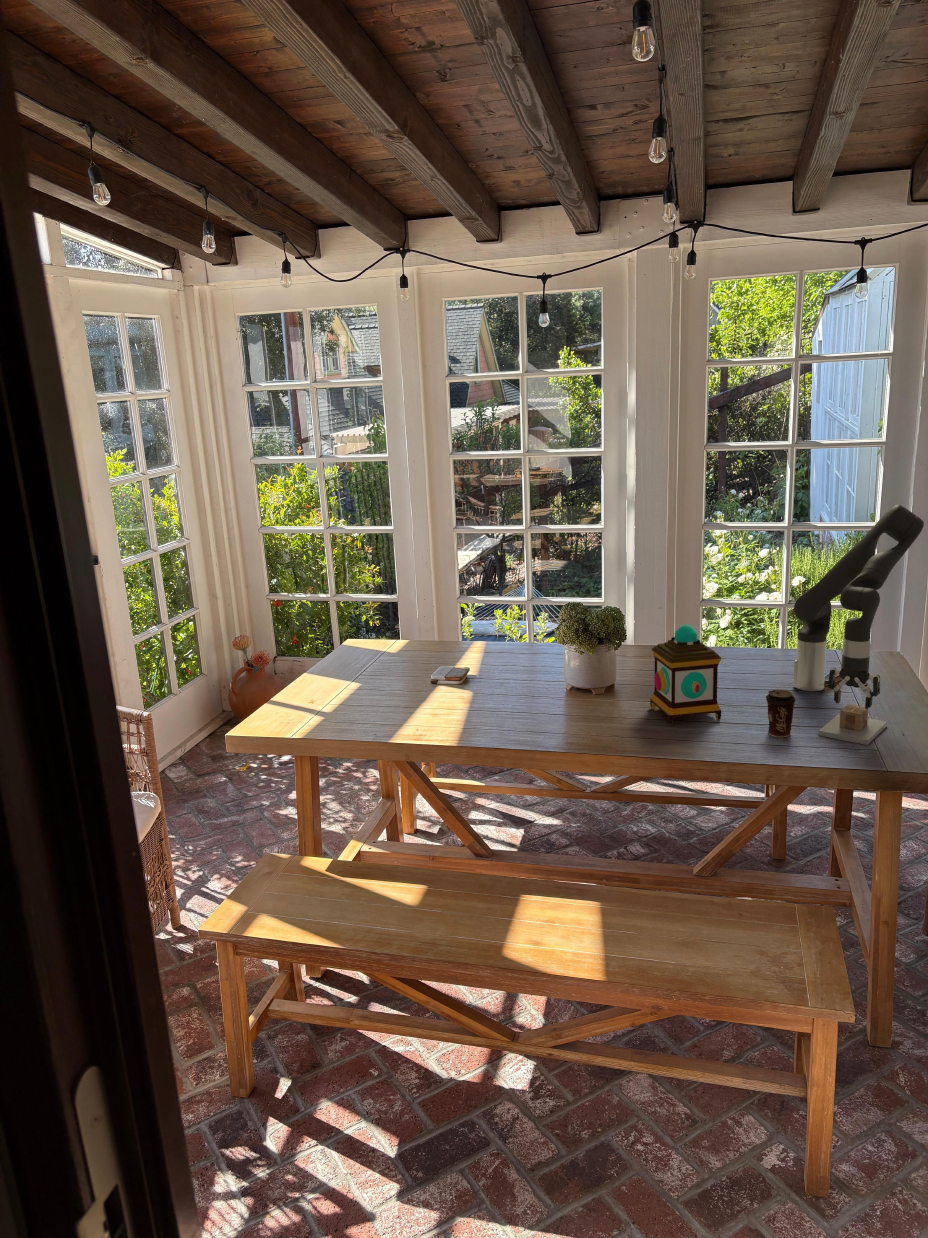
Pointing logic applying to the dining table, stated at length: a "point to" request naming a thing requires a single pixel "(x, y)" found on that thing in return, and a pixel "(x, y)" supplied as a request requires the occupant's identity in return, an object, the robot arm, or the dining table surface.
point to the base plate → (853, 731)
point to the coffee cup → (780, 712)
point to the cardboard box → (853, 717)
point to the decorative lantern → (685, 676)
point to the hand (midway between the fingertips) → (852, 705)
